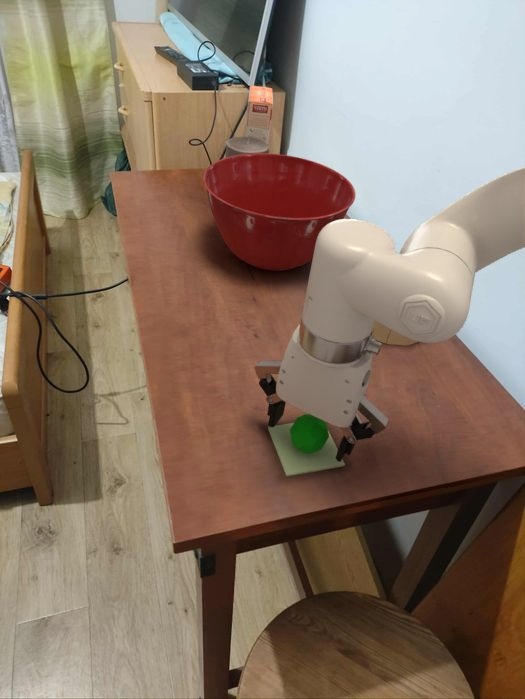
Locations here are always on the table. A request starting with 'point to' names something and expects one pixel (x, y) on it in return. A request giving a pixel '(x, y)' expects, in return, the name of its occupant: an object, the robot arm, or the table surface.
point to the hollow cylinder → (389, 336)
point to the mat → (302, 453)
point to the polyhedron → (309, 433)
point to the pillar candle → (245, 146)
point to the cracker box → (259, 113)
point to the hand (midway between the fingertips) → (308, 436)
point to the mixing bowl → (275, 206)
